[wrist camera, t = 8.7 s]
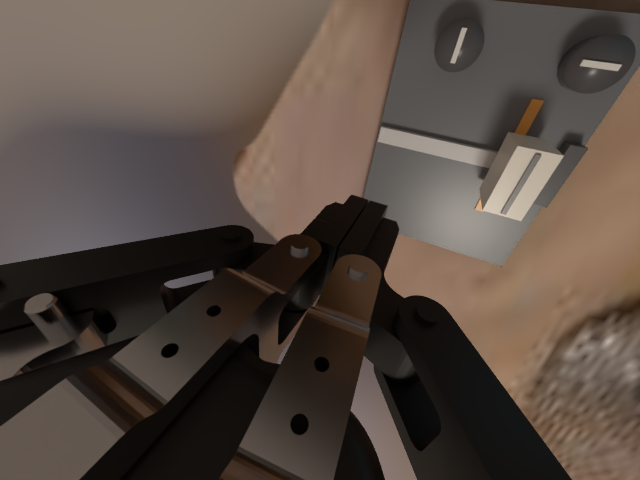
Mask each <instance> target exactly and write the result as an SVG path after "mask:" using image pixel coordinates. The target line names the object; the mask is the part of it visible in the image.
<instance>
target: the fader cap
mask: <svg viewBox="0 0 640 480" xmlns="http://www.w3.org/2000/svg"><path fill="white" fill-rule="evenodd" d="M563 157H564V155H563V154H562V153H561V152H559V151H558V150H557V149H556V148H555V147H554V146H553V145H552V144H551V143H550V142H549V141H548V140H546V139H541V138H536V137H532V136H527V135H522V134H517V133H512V132H508V134H507V135H506V137H505V139H504V141H503V143H502V145H501V147H500V149H499V151H498V153H497V155H496V157H495V159H494V161H493V163H492V165H491V167H490V169H489V171H488V173H487V175H486V177H485V179H484V181H483V183H482V185H481V187H480V189H479V190H480V197H481V204H482V211H486V212H490V213H493V214H497V215H500V216H504V217H508V218H511V219H515V220H518V221H522V219H523V218H524V216H525V215H526V213H527V211H528V210H529V208H530V207H531V205H532V204H533V202H534V201H535V199H536V198H537V196H538V195H539V193H540V192H541V190H542V189H543V187H544V186H545V184H546V183H547V181H548V180H549V178H550V177H551V175H552V173H553V172H554V170H555V169H556V167H557V166H558V164H559V163H560V161H561V160H562V158H563Z"/></svg>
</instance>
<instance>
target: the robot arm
mask: <svg viewBox="0 0 640 480" xmlns="http://www.w3.org/2000/svg"><path fill="white" fill-rule="evenodd" d="M387 208H388V205H384V204H381V203H378V202H374V201H371V200H370V201H369V200H368V199H364V198H361V197H358V196H355V195H351V196H350V197H349V198H348V199H347V201H346V202H345V203H344V204H340V203H337V202H335V203H332V204H330V205H327V206H326V207H325V208H324V209H323V210H322V211H321V212H320V214H318V215H317V217H316V218H315V219H314V220H313V221H312V222H311V223H310V224H309V225H308V226H307V227H306V229H305V230H304V231H303V232H302V233H301V234H293V235H289V236H286V237H284V238H282V239H281V240H280V241H279V242H277V243H276V244H275V245H273V244H264V243H257V242H254V236H253V233H252V232H251V231H250V230H249V229H247V228H245V227H243V226H238V225H227V226H221V227H216V228H210V229H204V230H198V231H193V232H188V233H181V234H175V235H170V236H164V237H158V238H153V239H147V240H141V241H136V242H130V243H124V244H119V245H114V246H108V247H101V248H96V249H90V250H84V251H79V252H73V253H67V254H61V255H56V256H50V257H44V258H39V259H33V260H27V261H22V262H16V263H10V264H4V265H0V480H385V478H384V475H383V471H382V468H381V465H380V462H379V459H378V456H377V453H376V451H375V449H374V446H373V444H372V442H371V440H370V438H369V436H368V434H367V432H366V431H365V429H364V428H363V426H362V425H361V423H360V422H359V420H358V419H357V418H356V417H355V415H354V414H353V413H352V412H351V411H350V410H351V406H352V402H353V397H354V393H355V389H356V385H357V381H358V377H359V373H360V369H361V365H362V360H363V357H364V356H365V357H366V358H367V359H368V360H370V361H371V362H372V363H373V364H374V372H375V375H376V378H377V380H378V383H379V385H380V388H381V390H382V393H383V395H384V398H385V400H386V403H387V405H388V408H389V410H390V413H391V415H392V418H393V420H394V423H395V425H396V428H397V430H398V433H399V435H400V438H401V440H402V443H403V445H404V448H405V450H406V452H407V455H408V458H409V460H410V463H411V465H412V468H413V470H414V473H415V475H416V477H417V480H572V479H571V478H570V477H569V475H568V474H567V472H566V471H565V470H564V468H563V467H562V466H561V464H560V463H559V462H558V460H557V459H556V458H555V456H554V455H553V453H552V452H551V451H550V449H549V448H548V447H547V445H546V444H545V443H544V441H543V440H542V438H541V437H540V436H539V434H538V433H537V432H536V430H535V429H534V428H533V426H532V425H531V424H530V422H529V421H528V419H527V418H526V417H525V415H524V414H523V413H522V411H521V410H520V409H519V407H518V406H517V405H516V403H515V402H514V400H513V399H512V398H511V396H510V395H509V394H508V392H507V391H506V390H505V388H504V387H503V386H502V384H501V383H500V381H499V380H498V379H497V377H496V376H495V375H494V373H493V372H492V371H491V369H490V368H489V367H488V365H487V364H486V362H485V361H484V360H483V358H482V357H481V356H480V354H479V353H478V352H477V350H476V349H475V348H474V346H473V345H472V343H471V342H470V341H469V339H468V338H467V337H466V335H465V334H464V333H463V331H462V330H461V329H460V327H459V326H458V324H457V323H456V322H455V320H454V319H453V318H452V316H451V315H450V314H449V312H448V311H447V310H446V309H445V308H444V307H443V306H442V305H441V304H439V303H438V302H436V301H434V300H432V299H430V298H427V297H424V296H417V295H415V296H409V297H406V298H403V297H402V296H400V295H399V294H397V293H396V292H395V291H394V290H393V289H391V288H390V286H389V285H388V284H387V282H386V280H385V277H384V271H385V269H386V266H387V263H388V261H389V258H390V255H391V252H392V250H393V247H394V244H395V241H396V238H397V235H398V233H399V227H398V224H397V221H393V220H390V219H387V218H385V215H386V212H387ZM211 270H212V271H213V277H214V278H213V279H211V280H208V281H204V282H200V283H196V284H192V285H188V286H184V287H180V288H174V289H172V288H168V287H166V286H165V285H164V283H165V282H167V281H170V280H174V279H178V278H181V277H186V276H190V275H194V274H199V273H203V272H207V271H211ZM319 295H320V297H319V299H318V301H317V303H316V305H315V307H313V304H314V302H315V301H316V299H317V297H318V296H319ZM294 335H295V336H294ZM293 336H294V338H293ZM292 338H293V340H292V342H291V344H290V346H289V348H288V350H287V352H286V354H285V356H284V358H283V360H282V362H281V364H277V362H278V359H279V357H280V355H281V353H282V352H283V350H284V349H285V347H286V346H287V345H288V343H289V342H290V341H291V339H292Z"/></svg>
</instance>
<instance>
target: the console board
mask: <svg viewBox="0 0 640 480" xmlns="http://www.w3.org/2000/svg"><path fill="white" fill-rule="evenodd" d="M639 66H640V14H637V13H626V12H615V11H604V10H594V9H583V8H572V7H561V6H550V5H539V4H528V3H517V2H507V1H496V0H410V2H409V6H408V10H407V14H406V19H405V23H404V27H403V31H402V36H401V40H400V44H399V48H398V52H397V57H396V61H395V65H394V69H393V74H392V78H391V82H390V86H389V91H388V95H387V99H386V103H385V108H384V112H383V116H382V120H381V124H380V129H379V133H378V137H377V141H376V146H375V150H374V154H373V158H372V163H371V167H370V171H369V175H368V179H367V184H366V188H365V192H364V196H363V198H364V199H368V200H369V201H370V200H371V201H374V202H378V203H381V204H384V205H388V208H387V212H386V215H385V218H387V219H390V220H393V221H397V224H398V227H399V233H398V234H401V235H405V236H408V237H411V238H414V239H417V240H420V241H423V242H426V243H430V244H433V245H436V246H439V247H442V248H445V249H448V250H451V251H454V252H458V253H461V254H464V255H467V256H470V257H473V258H476V259H479V260H483V261H486V262H489V263H492V264H495V265H498V266H502V265H503V264H504V262H505V261H506V259H507V258H508V256H509V255H510V253H511V252H512V250H513V249H514V248H515V246H516V245H517V243H518V242H519V240H520V239H521V237H522V236H523V234H524V233H525V232H526V230H527V229H528V227H529V226H530V224H531V223H532V221H533V220H534V219H535V217H536V216H537V214H538V213H539V211H540V210H541V208H542V207H548V205H549V204H550V202H551V201H552V199H553V198H554V197H555V195H556V194H557V192H558V191H559V189H560V188H561V187H562V185H563V184H564V182H565V181H566V179H567V178H568V177H569V175H570V174H571V172H572V171H573V169H574V168H575V167H576V165H577V164H578V162H579V161H580V159H581V158H582V157H583V155H584V154H585V152H586V151H587V149H588V148H587V147H585V144H586V143H587V141H588V140H589V139H590V137H591V136H592V134H593V133H594V131H595V130H596V128H597V127H598V126H599V124H600V123H601V121H602V120H603V118H604V117H605V115H606V114H607V112H608V111H609V110H610V108H611V107H612V105H613V104H614V102H615V101H616V99H617V98H618V96H619V95H620V94H621V92H622V91H623V89H624V88H625V86H626V85H627V83H628V82H629V80H630V79H631V78H632V76H633V75H634V73H635V72H636V70H637V69H638V67H639ZM508 132H512V133H517V134H522V135H527V136H532V137H536V138H541V139H546V140H548V141H549V142H550V143H551V144H552V145H553V146H554V147H555V148H556V149H557V150H558V151H559V152H561V153H562V154H563V155H564V157H563V158H562V160H561V161H560V163H559V164H558V166H557V167H556V169H555V170H554V172H553V173H552V175H551V177H550V178H549V180H548V181H547V183H546V184H545V186H544V187H543V189H542V190H541V192H540V193H539V195H538V196H537V198H536V199H535V201H534V202H533V204H532V205H531V207H530V208H529V210H528V211H527V213H526V215H525V216H524V218H523V219H522V221H518V220H515V219H511V218H508V217H504V216H500V215H497V214H493V213H490V212H486V211H482V204H481V197H480V190H479V189H480V187H481V185H482V183H483V181H484V179H485V177H486V175H487V173H488V171H489V169H490V167H491V165H492V163H493V161H494V159H495V157H496V155H497V153H498V151H499V149H500V147H501V145H502V143H503V141H504V139H505V137H506V135H507V134H508Z"/></svg>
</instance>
